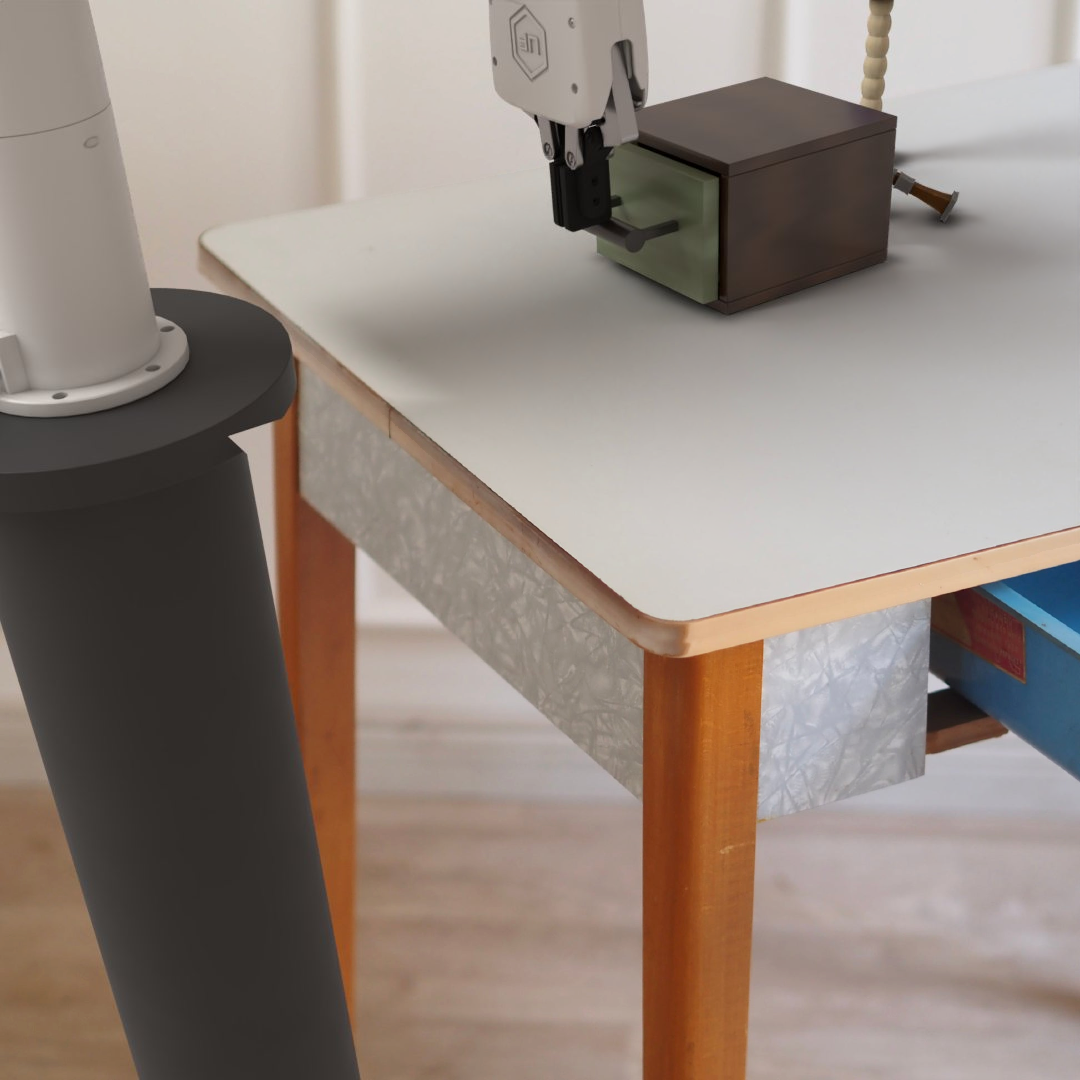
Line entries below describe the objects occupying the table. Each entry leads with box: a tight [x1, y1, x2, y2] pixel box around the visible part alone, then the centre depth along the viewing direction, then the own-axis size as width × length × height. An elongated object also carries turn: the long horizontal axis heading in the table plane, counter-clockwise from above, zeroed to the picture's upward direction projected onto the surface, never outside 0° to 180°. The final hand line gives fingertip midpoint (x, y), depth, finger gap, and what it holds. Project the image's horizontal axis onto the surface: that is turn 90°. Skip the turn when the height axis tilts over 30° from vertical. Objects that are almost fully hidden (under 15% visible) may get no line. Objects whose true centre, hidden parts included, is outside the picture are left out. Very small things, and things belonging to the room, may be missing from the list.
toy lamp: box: [858, 0, 895, 112], centre depth 111 cm, size 5×5×17 cm
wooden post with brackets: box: [892, 166, 960, 223], centre depth 105 cm, size 2×8×4 cm, turn 72°
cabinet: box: [635, 75, 898, 315], centre depth 98 cm, size 14×13×10 cm
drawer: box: [581, 141, 722, 305], centre depth 96 cm, size 17×11×8 cm
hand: (583, 222), depth 91 cm, fingers closed
